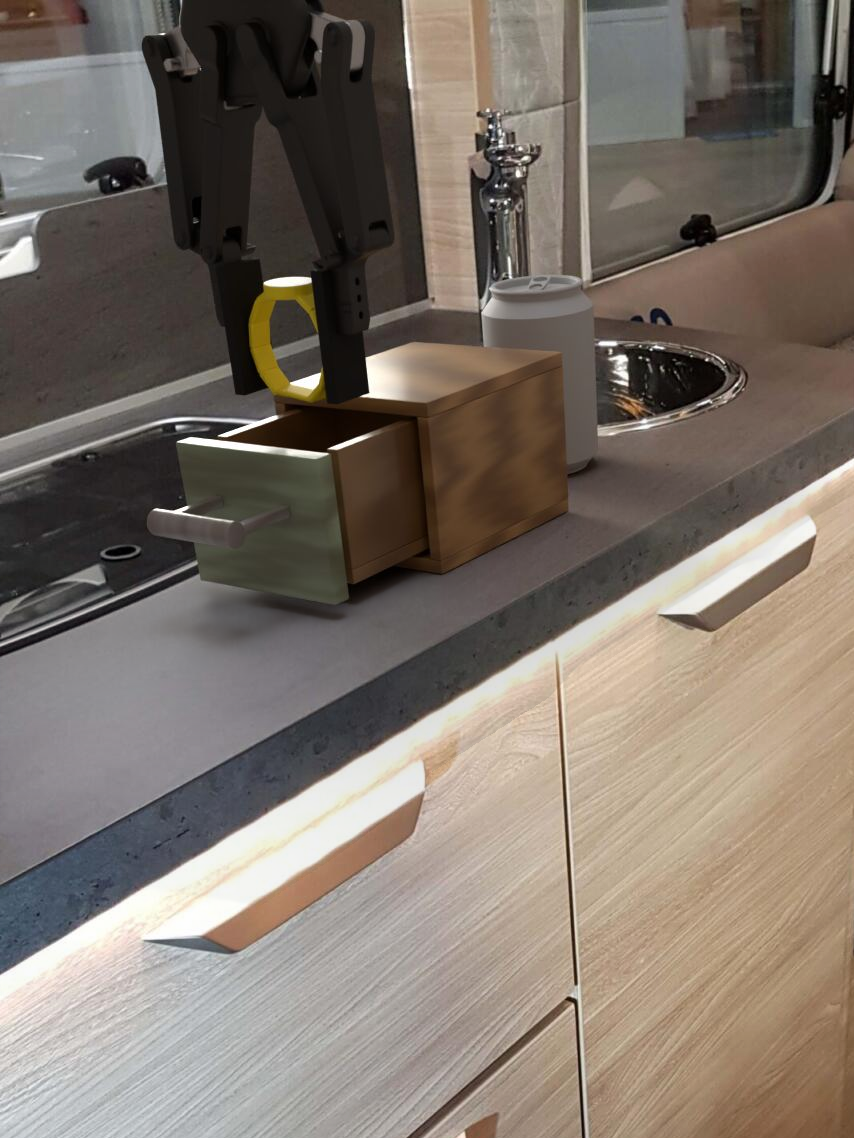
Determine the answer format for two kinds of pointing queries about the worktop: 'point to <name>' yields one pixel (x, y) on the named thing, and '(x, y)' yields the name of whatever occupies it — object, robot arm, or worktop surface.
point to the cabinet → (472, 439)
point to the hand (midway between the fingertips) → (301, 393)
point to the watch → (260, 335)
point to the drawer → (302, 501)
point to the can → (552, 345)
